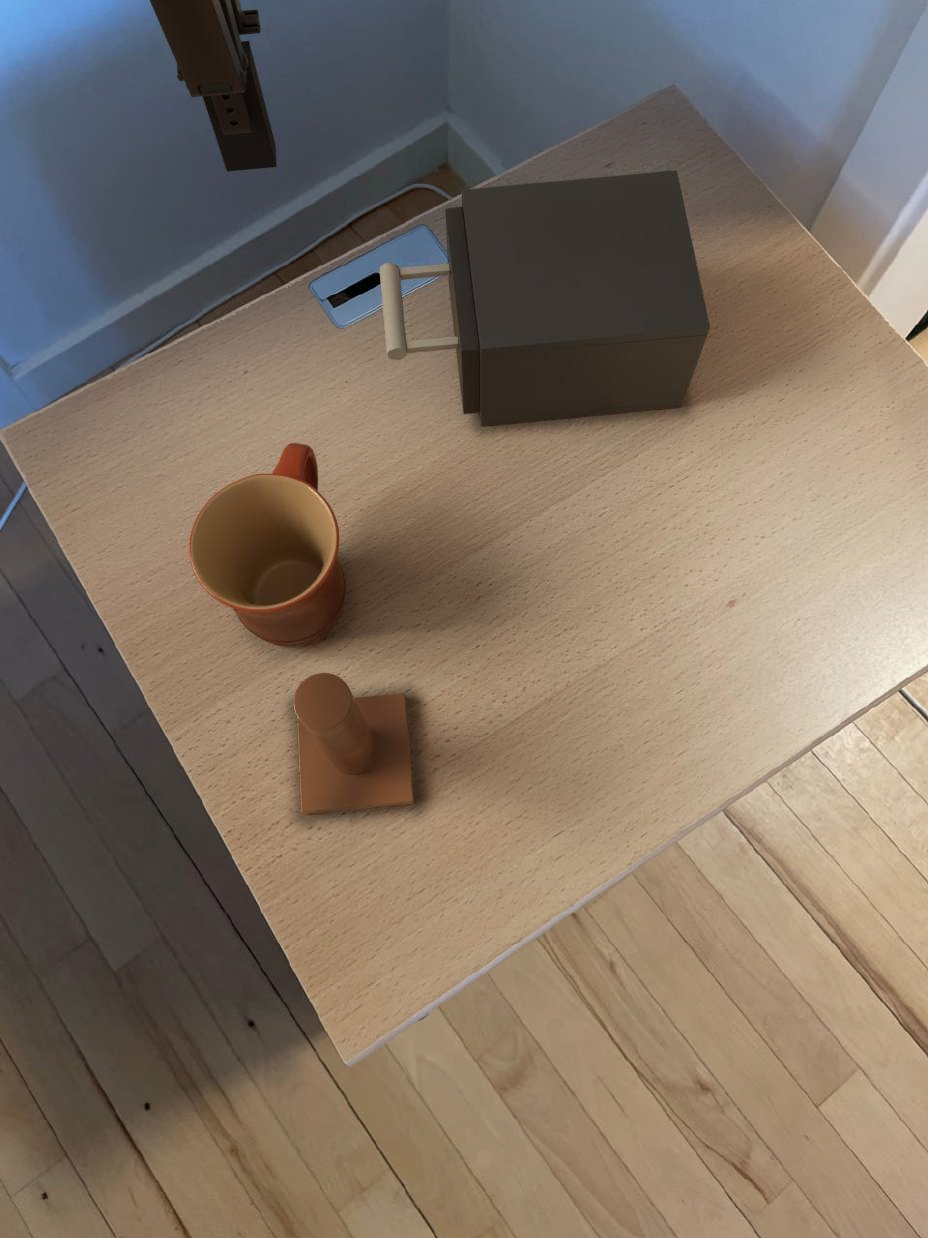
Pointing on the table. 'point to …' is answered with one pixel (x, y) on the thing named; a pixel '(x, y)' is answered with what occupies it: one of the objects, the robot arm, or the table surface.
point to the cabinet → (583, 297)
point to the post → (351, 747)
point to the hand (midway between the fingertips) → (251, 157)
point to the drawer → (460, 304)
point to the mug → (273, 552)
